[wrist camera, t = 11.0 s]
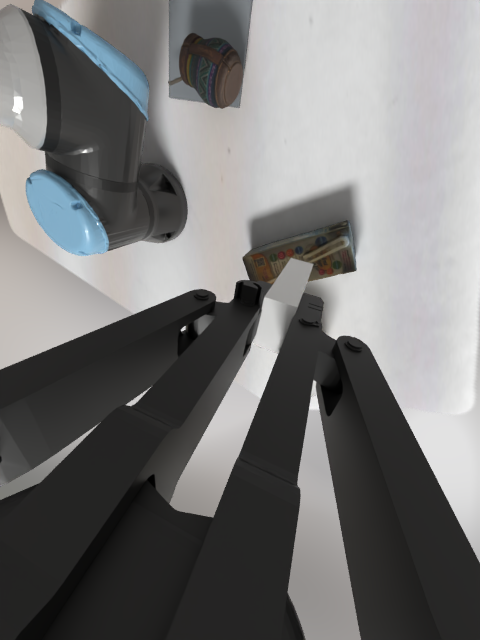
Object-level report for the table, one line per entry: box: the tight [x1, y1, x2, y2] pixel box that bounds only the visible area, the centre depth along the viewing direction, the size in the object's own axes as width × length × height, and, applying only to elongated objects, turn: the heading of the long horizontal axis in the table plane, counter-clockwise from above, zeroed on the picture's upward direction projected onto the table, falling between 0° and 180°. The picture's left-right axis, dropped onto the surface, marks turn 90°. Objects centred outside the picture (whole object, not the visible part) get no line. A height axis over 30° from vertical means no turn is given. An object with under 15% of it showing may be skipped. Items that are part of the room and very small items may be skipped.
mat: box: [169, 0, 253, 108], centre depth 35 cm, size 13×20×1 cm, turn 170°
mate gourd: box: [168, 33, 243, 109], centre depth 36 cm, size 7×8×10 cm
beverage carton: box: [243, 220, 357, 284], centre depth 45 cm, size 8×19×7 cm, turn 110°
